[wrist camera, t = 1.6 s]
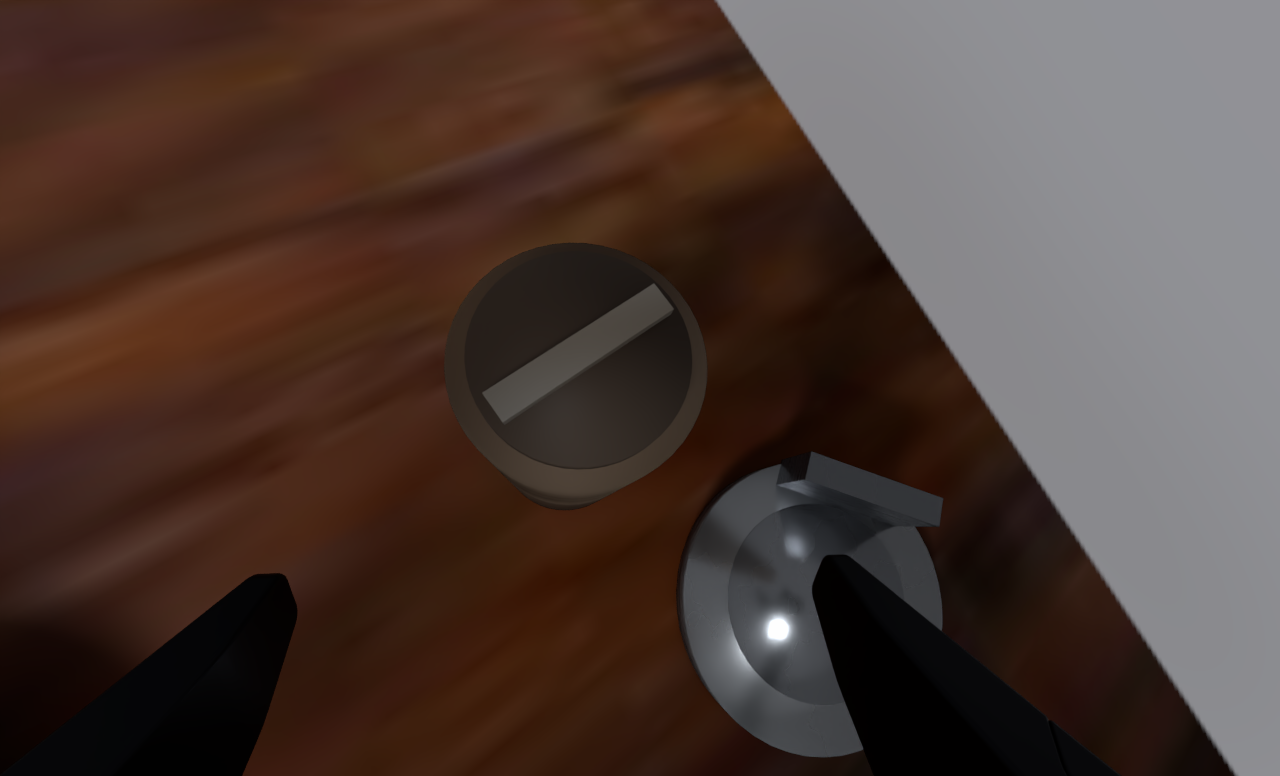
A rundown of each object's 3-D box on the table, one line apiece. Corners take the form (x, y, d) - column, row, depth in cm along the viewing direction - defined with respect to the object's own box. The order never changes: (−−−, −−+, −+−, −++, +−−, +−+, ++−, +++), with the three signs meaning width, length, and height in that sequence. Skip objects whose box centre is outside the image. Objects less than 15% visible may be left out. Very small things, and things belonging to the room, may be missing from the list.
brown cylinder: (652, 460, 20) (770, 382, 9) (550, 537, 19) (546, 553, 8) (581, 364, 21) (612, 182, 10) (477, 432, 20) (378, 311, 9)
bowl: (899, 777, 19) (976, 833, 15) (641, 696, 18) (662, 736, 15) (936, 509, 22) (1008, 507, 18) (715, 431, 21) (747, 413, 18)
